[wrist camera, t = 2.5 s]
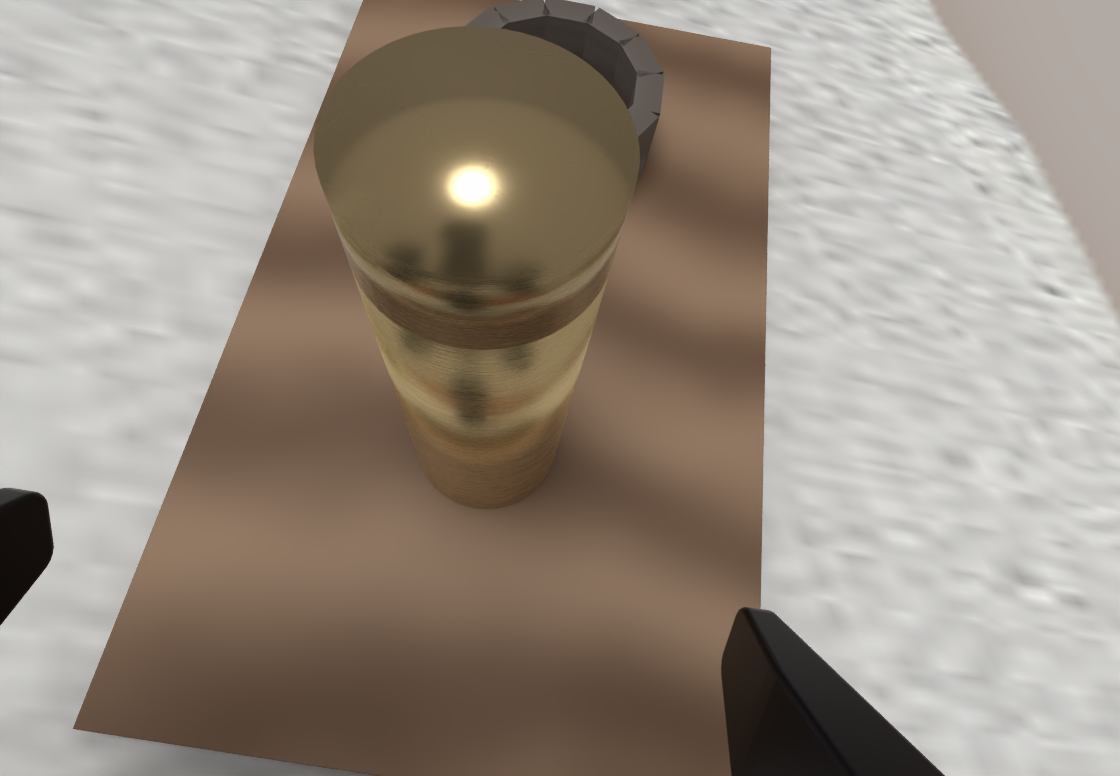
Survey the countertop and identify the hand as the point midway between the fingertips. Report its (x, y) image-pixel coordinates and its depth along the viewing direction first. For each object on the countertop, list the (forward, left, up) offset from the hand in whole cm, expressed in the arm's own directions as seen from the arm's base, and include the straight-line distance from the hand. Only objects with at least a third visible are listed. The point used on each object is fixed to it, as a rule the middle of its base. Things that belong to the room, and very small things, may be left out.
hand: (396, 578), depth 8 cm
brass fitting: (+3, -5, -11) cm, 12 cm away
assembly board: (+6, -9, -12) cm, 17 cm away
